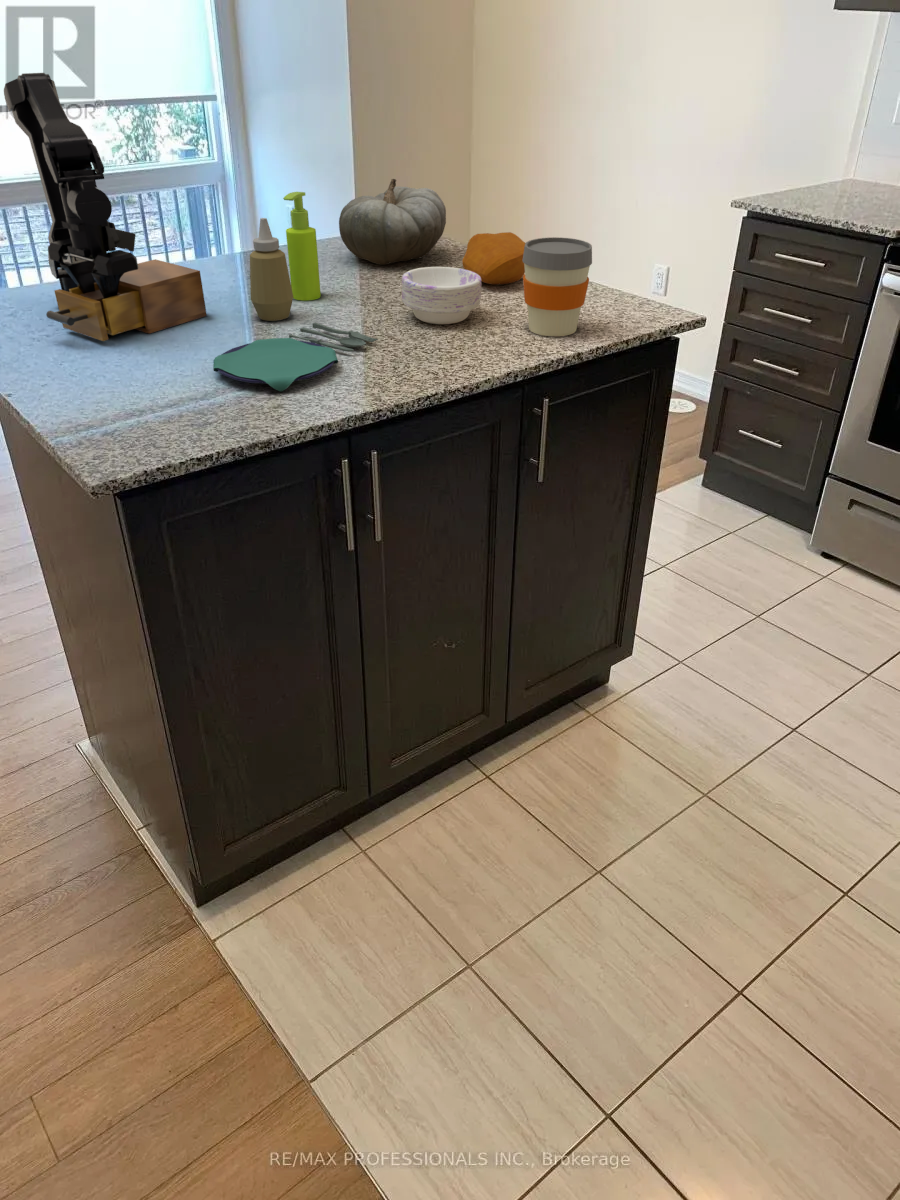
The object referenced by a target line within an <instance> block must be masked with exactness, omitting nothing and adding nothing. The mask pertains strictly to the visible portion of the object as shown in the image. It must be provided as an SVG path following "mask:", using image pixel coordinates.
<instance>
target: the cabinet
mask: <svg viewBox="0 0 900 1200" xmlns="http://www.w3.org/2000/svg"><path fill="white" fill-rule="evenodd" d="M137 263H138V269H137V270H133V271H129V272H126V273H124V274H123V275H122V277H121V278H120V281H119V285H122V286H125V287H129V288H132V289H136V290H138V291H139V296H140V301H141V307H142V312H143V317H144V322H145V326H142V327H139V328H135V329H134V330H137V331H139V332H142V333H145V334H149V335H150V334H153V333H156V332H160V331H162V330H166V329H169V328H173V327H176V326H179V325H183V324H186V323H189V322H191V321H195V320H198V319H202V318H205V317H208V314H207V309H206V302H205V295H204V288H203V282H202V276H201V271H200V270H198V269H195V268H191V267H187V266H183V265H180V264H175V263H172V262H167V261H163V260H159V259H151V260H147V261H143V262H137Z"/></svg>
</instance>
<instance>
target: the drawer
mask: <svg viewBox="0 0 900 1200" xmlns="http://www.w3.org/2000/svg"><path fill="white" fill-rule="evenodd" d="M94 287H95V291H96V290H100V289H99V287H98V285H97V283H94ZM69 291H70V292H68V291H64V290H62V289H61V288H58V289H55V290H53V292H54V295H55V299H56V303H57V307H58V310H57V311H53V310H48V311H47V312H46V317H47V319H49V320H52V321H54V322H55V321H56V322H58V323H61V324H62V327H63V328H64V329H65V330H69V331H72V332H75V333H77V334H81V335H83V336H86V337H89V338H92V339H95V340H98V341H101V342H105V341H108V340H109V336H108V335H110V336H115V335H118V334H122V333H124V332H125V333H126V332H128V331H132V330H136V329H135V328H139V327H142V326H145V322H144V317H143V312H142V307H141V301H140V296H139V291H138V290H136V289H132V288H129V287H125V286H122V285H119V286H118V293H120V295H117V296H113V297H109V298H105V299H102V301H103V305H104V310H105V314H106V319H107V324H108V326H106V325H105V321H104V316H103V312H102V307H101V303H100V301H97V300H94V299H90V298H87V297H84V296H81V294H83V293H82V291H81V290H80V288H79V287H76V288H72V289H69Z"/></svg>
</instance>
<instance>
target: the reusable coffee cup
mask: <svg viewBox="0 0 900 1200" xmlns="http://www.w3.org/2000/svg"><path fill="white" fill-rule="evenodd" d="M522 261H523V263H524V266H525V273H524V275H523V277H522V284H523V297H524V303H525V304H526V308H527V322H528V323H527V324H528V330H529V332H531V333H533V334H535V335H538V336H544V337H564V336H565V337H566V336H570V335H572V334H575V333H576V331H577V328H578V324H579V319H580V315H581V314H580V313H581V309H582V306H584V304H585V302H586V297H587V293H588V292H587V291H588V287H589V284H590V283H589V282H590V278H589V271H590V266H592V264H593V245H592V244H591V243H590V242H588V241H585V240H582V239H577V238H573V237H572V238H571V237H558V236H556V237H554V236H553V237H549V236H548V237H540V238H534V239H531V240H528V241H525V247H524V254H523V260H522Z"/></svg>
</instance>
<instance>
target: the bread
mask: <svg viewBox="0 0 900 1200" xmlns="http://www.w3.org/2000/svg"><path fill="white" fill-rule="evenodd" d="M525 243H526V241H524V240H523V239H521V238H520V237H519V236H518V235H517V234H515V233H513V232H511V231H508V232H498V233H489V232H487V233H486V232H485V233H477V234H474V235H473V236H471V238H469V240H468V242H467V246H466V249H465V254H464V256H463V258H462V260H461V262H462V269H465V270H469V271H472V272H474V273H476V274H478V275H479V276H480V277H481V280H482V281H481V283H485V284H487V285H493V286H495V285H499V286H500V285H507V284H512V283H516V282H518V281H520V280H522V279H523V276H524V275H525V266H524V263H523V261H522V260H523V254H524V247H525Z"/></svg>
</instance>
